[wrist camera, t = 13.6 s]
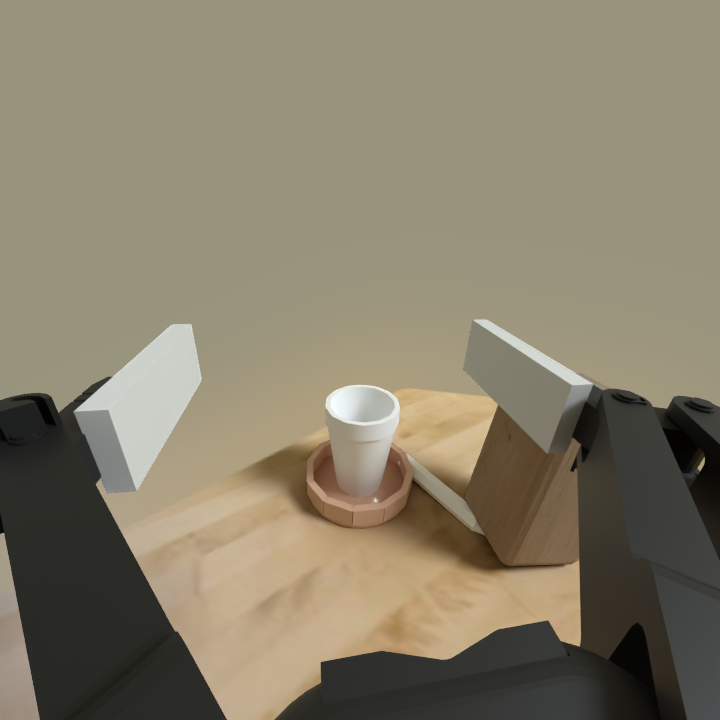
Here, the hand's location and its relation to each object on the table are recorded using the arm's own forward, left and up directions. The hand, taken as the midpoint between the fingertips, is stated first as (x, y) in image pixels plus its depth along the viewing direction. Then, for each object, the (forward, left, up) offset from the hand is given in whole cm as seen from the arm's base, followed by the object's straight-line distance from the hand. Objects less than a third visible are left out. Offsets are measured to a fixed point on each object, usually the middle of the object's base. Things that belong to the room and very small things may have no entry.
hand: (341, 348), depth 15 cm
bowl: (+5, +20, -30) cm, 36 cm away
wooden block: (+23, +10, -29) cm, 38 cm away
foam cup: (+5, +20, -29) cm, 36 cm away
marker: (+16, +15, -30) cm, 37 cm away
